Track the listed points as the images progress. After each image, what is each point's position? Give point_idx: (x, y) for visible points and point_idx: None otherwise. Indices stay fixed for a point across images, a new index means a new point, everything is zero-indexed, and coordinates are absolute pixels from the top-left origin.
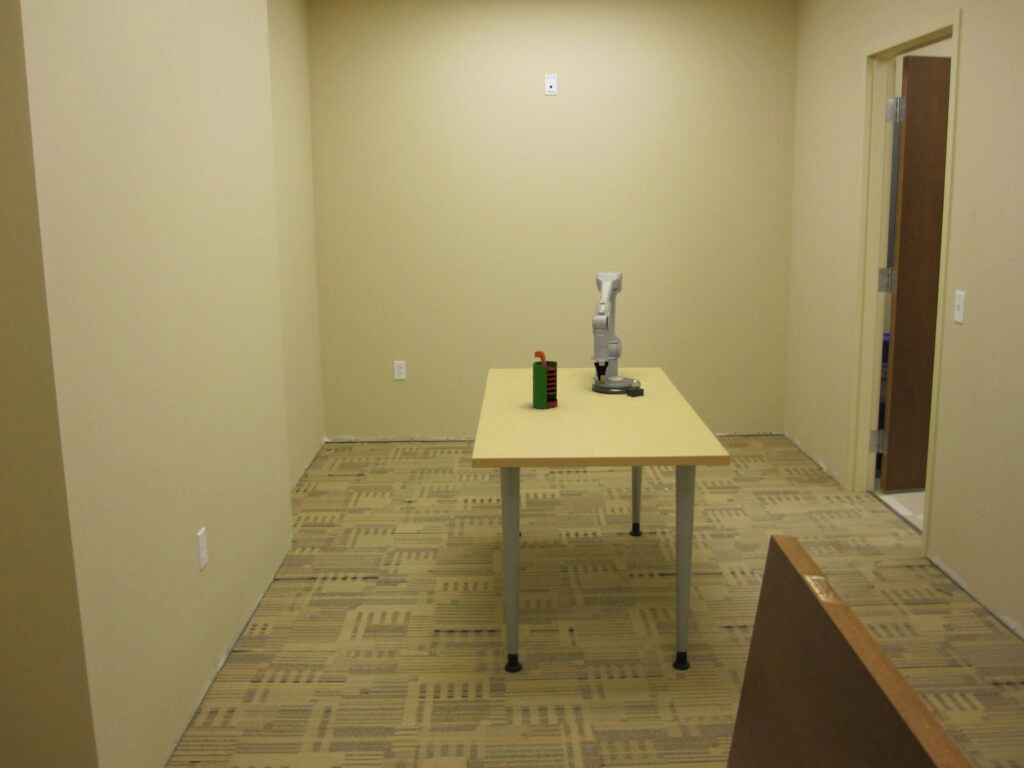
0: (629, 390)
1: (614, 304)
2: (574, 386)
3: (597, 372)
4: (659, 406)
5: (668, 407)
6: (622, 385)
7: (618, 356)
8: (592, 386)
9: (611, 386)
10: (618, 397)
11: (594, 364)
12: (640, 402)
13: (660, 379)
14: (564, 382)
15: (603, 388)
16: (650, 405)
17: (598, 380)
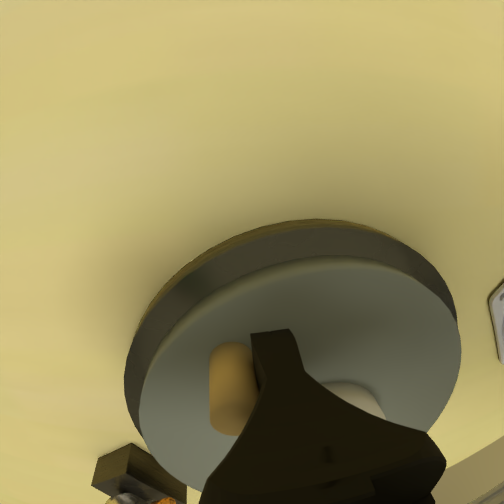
0: (109, 475)
1: None
2: (407, 65)
3: (259, 393)
4: (12, 485)
5: (17, 496)
6: (167, 470)
7: None
8: (265, 237)
9: (140, 416)
10: (64, 406)
11: (215, 500)
12: (25, 460)
13: (457, 462)
14: (497, 28)
15: (157, 348)
16: (7, 471)
17: (363, 304)
